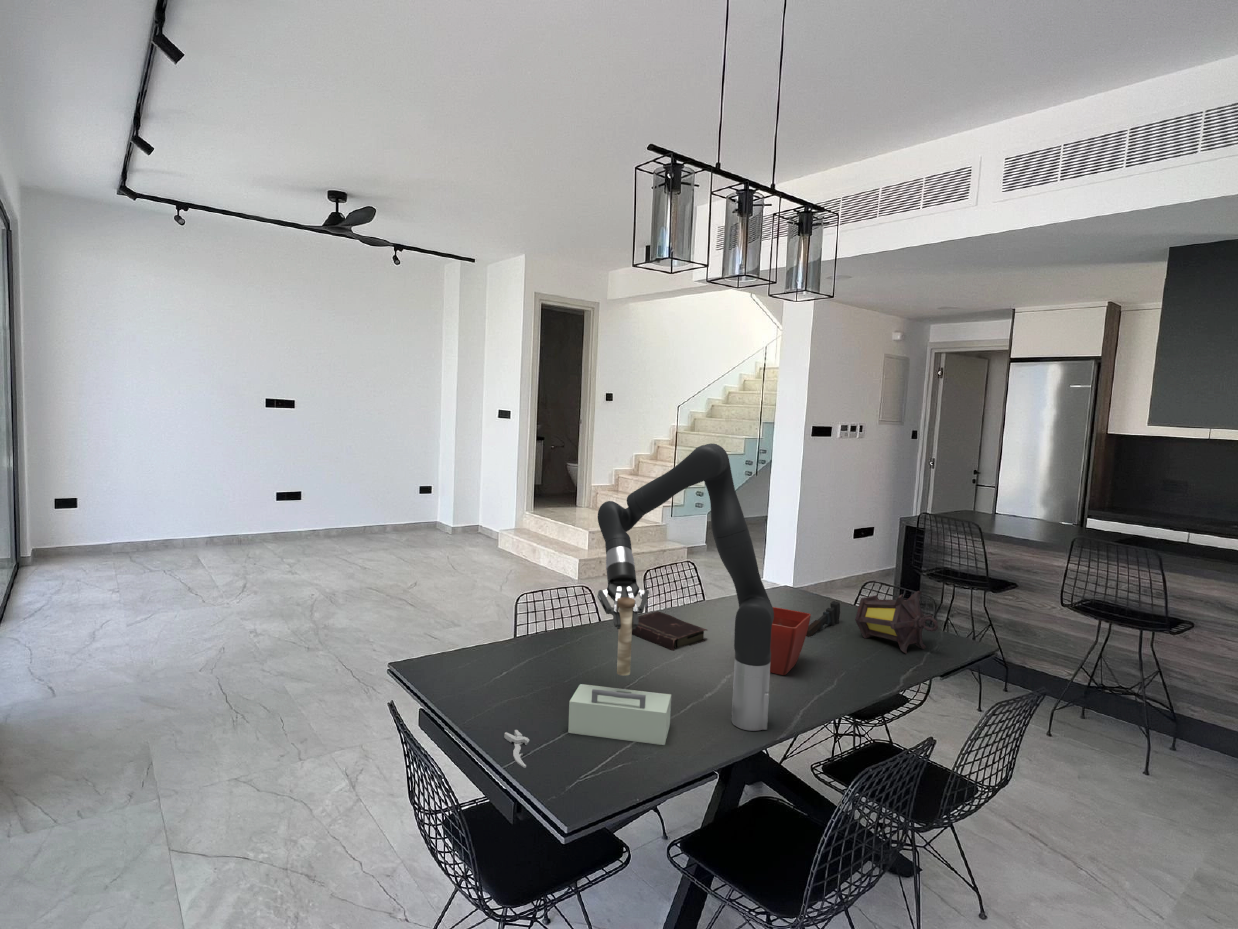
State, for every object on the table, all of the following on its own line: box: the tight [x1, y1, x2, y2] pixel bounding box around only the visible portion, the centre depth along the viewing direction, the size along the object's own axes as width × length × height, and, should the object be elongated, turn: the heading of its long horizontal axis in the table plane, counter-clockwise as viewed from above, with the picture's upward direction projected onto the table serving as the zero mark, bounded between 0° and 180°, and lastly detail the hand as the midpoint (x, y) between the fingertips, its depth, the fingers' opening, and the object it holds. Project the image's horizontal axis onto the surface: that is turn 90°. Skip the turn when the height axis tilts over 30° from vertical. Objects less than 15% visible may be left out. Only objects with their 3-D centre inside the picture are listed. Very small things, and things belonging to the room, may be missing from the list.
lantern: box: [855, 590, 939, 655], centre depth 248 cm, size 22×23×30 cm
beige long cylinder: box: [616, 597, 636, 677], centre depth 174 cm, size 4×4×19 cm
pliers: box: [503, 729, 530, 769], centre depth 165 cm, size 10×2×15 cm
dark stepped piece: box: [806, 600, 841, 638], centre depth 264 cm, size 8×3×25 cm
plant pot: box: [770, 606, 812, 676], centre depth 223 cm, size 19×19×17 cm
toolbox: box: [567, 683, 672, 746], centre depth 174 cm, size 24×11×12 cm, turn 79°
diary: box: [632, 610, 708, 651], centre depth 249 cm, size 19×25×5 cm
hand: (626, 627), depth 172 cm, fingers closed on beige long cylinder, 3 cm apart
